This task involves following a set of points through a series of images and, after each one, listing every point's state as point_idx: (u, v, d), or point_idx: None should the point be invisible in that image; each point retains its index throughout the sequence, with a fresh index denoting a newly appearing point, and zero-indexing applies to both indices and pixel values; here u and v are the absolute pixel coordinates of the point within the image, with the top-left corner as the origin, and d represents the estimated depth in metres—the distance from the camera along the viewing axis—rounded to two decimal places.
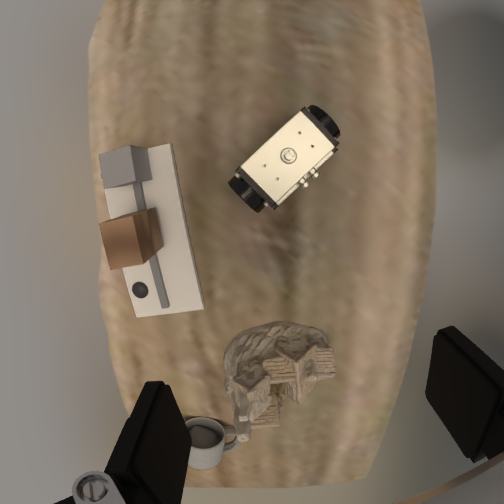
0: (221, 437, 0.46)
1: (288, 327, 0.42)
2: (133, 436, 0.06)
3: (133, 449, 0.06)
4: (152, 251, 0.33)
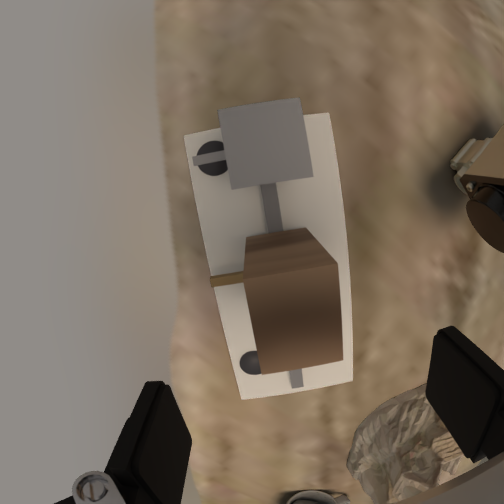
0: None
1: None
2: (133, 436, 0.06)
3: (133, 449, 0.06)
4: None
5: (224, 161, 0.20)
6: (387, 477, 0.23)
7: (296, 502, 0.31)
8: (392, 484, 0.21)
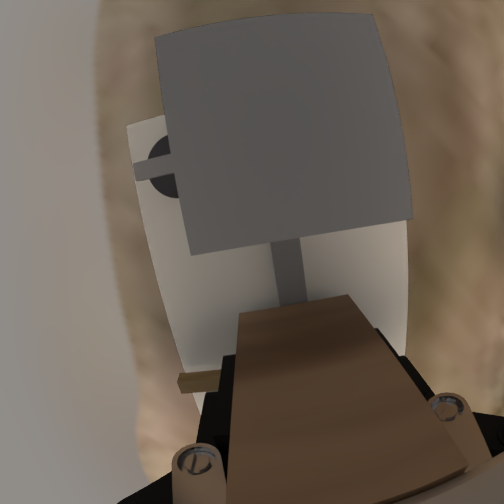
0: None
1: None
2: (229, 403, 0.08)
3: None
4: None
5: None
6: None
7: None
8: None
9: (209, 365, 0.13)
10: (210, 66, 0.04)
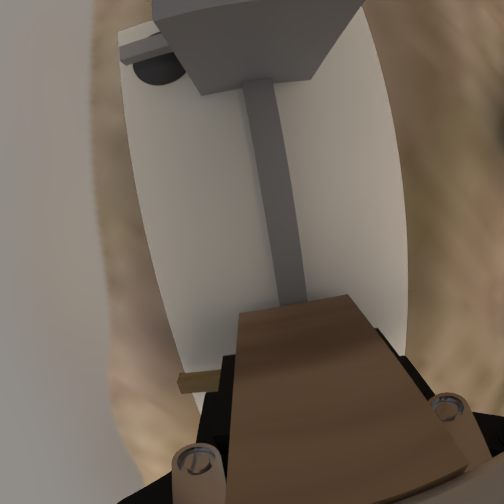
0: None
1: None
2: (229, 403, 0.08)
3: None
4: None
5: None
6: None
7: None
8: None
9: (183, 269, 0.11)
10: None
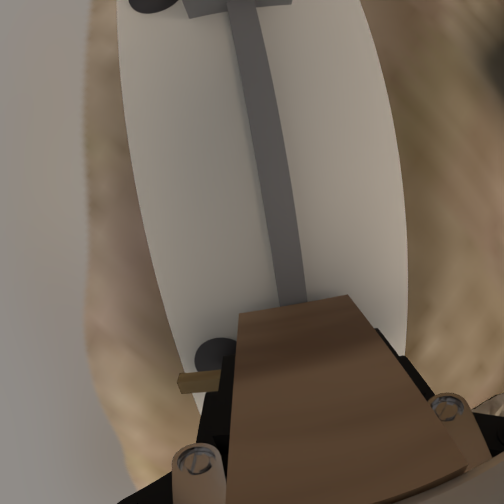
0: None
1: None
2: (229, 404, 0.08)
3: None
4: None
5: None
6: None
7: None
8: None
9: (164, 175, 0.11)
10: None
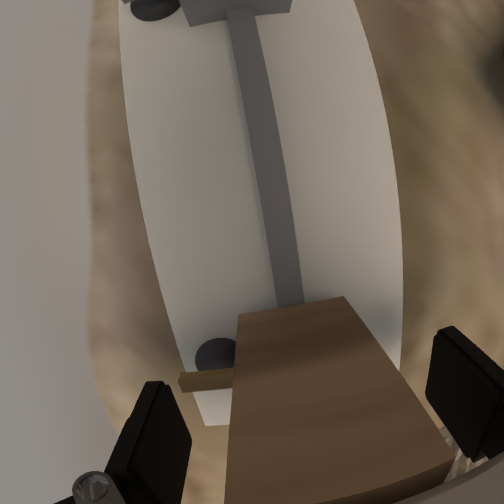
0: None
1: None
2: (133, 436, 0.06)
3: (133, 449, 0.06)
4: None
5: (172, 0, 0.09)
6: None
7: None
8: None
9: (166, 180, 0.11)
10: None
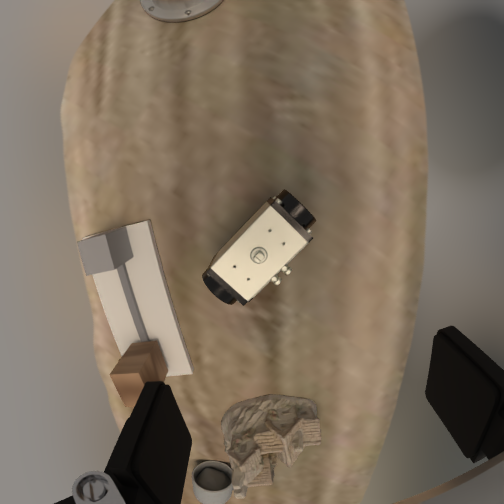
0: (230, 478, 0.45)
1: (277, 400, 0.42)
2: (133, 436, 0.06)
3: (133, 448, 0.06)
4: None
5: None
6: None
7: (205, 469, 0.46)
8: None
9: (110, 307, 0.39)
10: (84, 248, 0.31)
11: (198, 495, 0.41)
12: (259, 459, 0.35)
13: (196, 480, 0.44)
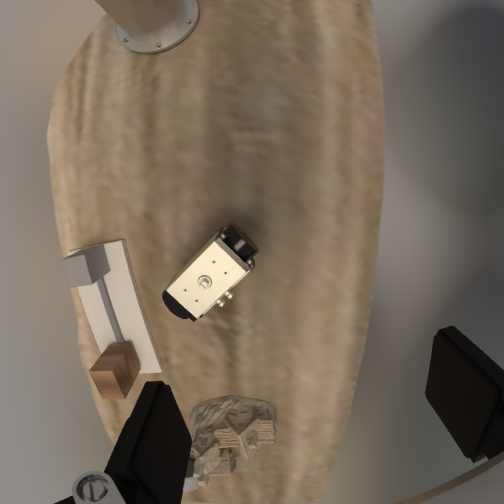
0: None
1: (237, 401, 0.48)
2: (133, 436, 0.06)
3: (133, 448, 0.06)
4: (131, 382, 0.40)
5: None
6: None
7: None
8: None
9: (91, 312, 0.43)
10: (67, 265, 0.35)
11: None
12: (218, 452, 0.40)
13: None
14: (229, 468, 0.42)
